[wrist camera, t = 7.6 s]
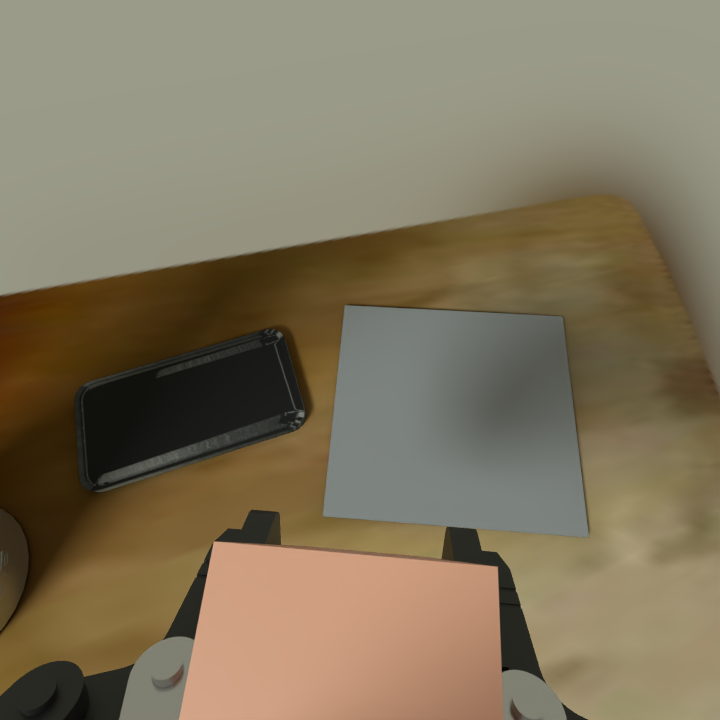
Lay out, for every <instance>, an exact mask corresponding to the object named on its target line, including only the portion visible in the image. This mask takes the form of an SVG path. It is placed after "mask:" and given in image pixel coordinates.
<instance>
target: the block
mask: <svg viewBox="0 0 720 720" xmlns="http://www.w3.org/2000/svg"><path fill="white" fill-rule="evenodd" d="M179 720H504V719H503V693H502V666H501V639H500V613H499V586H498V567H496V566H488V565H481V564H473V563H466V562H459V561H450V560H443V559H437V558H429V557H419V556H408V555H397V554H386V553H375V552H363V551H352V550H341V549H330V548H318V547H307V546H293V545H272V544H254V543H235V542H215V541H214V543H213V549H212V554H211V559H210V564H209V569H208V574H207V579H206V584H205V589H204V594H203V600H202V605H201V610H200V615H199V620H198V625H197V630H196V635H195V640H194V645H193V651H192V656H191V661H190V666H189V671H188V676H187V681H186V686H185V691H184V696H183V702H182V707H181V712H180V717H179Z"/></svg>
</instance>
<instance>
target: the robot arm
mask: <svg viewBox="0 0 720 720" xmlns="http://www.w3.org/2000/svg"><path fill="white" fill-rule="evenodd" d="M215 542H235V543H254V544H272V545H281V535H280V514H279V512H272V511H260V510H251V511H250V512H249V514H248V516H247V518H246V521H245V523H244V525H243V527H242V530H240V529H229V528H228V529H227V530H226V531H225V532H224V533H223V534H222V535H221V536H220V537H219V538H218V539H216V540H215ZM213 543H214V542H213ZM212 549H213V544H212V546H211V548H210V550H209V552H208V554H207V556H206V558H205V560H204V563H203V564H202V566H201V568H200V570H199V572H198V574H197V578H195V580H194V582H193V584H192V586H191V587H190V589H189V591H188V593H187V595H186V597H185V599H184V601H183V603H182V605H181V607H180V609H179V611H178V613H177V615H176V617H175V619H174V621H173V623H172V625H171V627H170V629H169V631H168V633H167V635H166V636H165V638H164V639H163V640H162V641H160V642H158V643H156V644H154V645H153V646H152V647H150V648H149V649H148V650H146V651H145V652H144V653H143V654H142V655H141V656H140V658H139V659H138V660H137V662H136V663H135V664H132V665H130V666H127V667H124V668H121V669H117V670H112V671H108V672H104V673H99V674H95V675H91V676H86V677H83V673H82V671H81V669H80V668H79V667H78V666H77V665H76V664H74V663H72V662H68V661H55V662H50V663H47V664H44V665H41V666H39V667H37V668H35V669H33V670H31V671H30V672H28V673H27V674H25V675H24V676H22V677H21V678H20V679H18V680H17V681H16V682H15V683H14V684H13V685H12V686H11V687H10V688H8V689H7V690H6V691H5V692H4V693H3V694H2V695H1V696H0V720H179V717H180V712H181V707H182V702H183V696H184V691H185V686H186V681H187V676H188V671H189V666H190V661H191V656H192V651H193V645H194V640H195V635H196V630H197V625H198V620H199V615H200V610H201V605H202V600H203V594H204V589H205V584H206V579H207V574H208V569H209V564H210V559H211V554H212ZM442 559H443V560H450V561H459V562H466V563H473V564H481V565H488V566H496V567H498V586H499V613H500V639H501V666H502V693H503V719H504V720H587V719H585V718H583V717H581V716H579V715H577V714H576V713H574V712H573V711H571V710H570V709H569V708H567V707H566V706H565V705H564V704H562V703H561V702H560V700H559V698H558V697H557V695H556V694H555V693H554V691H553V690H552V689H551V688H550V687H549V686H548V685H547V684H546V682H545V680H544V678H543V676H542V674H541V671H540V668H539V664H538V661H537V658H536V654H535V651H534V648H533V644H532V641H531V638H530V634H529V631H528V628H527V624H526V621H525V618H524V614H523V611H522V609H521V607H520V605H521V604H520V601H519V598H518V594H517V592H516V588H515V584H514V581H513V578H512V574H511V571H510V569H509V567H508V566H507V565H506V564H505V562H504V561H503V560H502V558H501V557H500V556H499V554H498V553H497V552H489V551H482V550H481V546H480V542H479V538H478V534H477V531H476V529H469V528H457V527H447V528H446V533H445V539H444V546H443V553H442ZM28 561H29V553H28V547H27V541H26V538H25V535H24V533H23V531H22V528H21V526H20V525H19V524H18V523H17V521H16V520H15V519H14V518H13V516H11V515H10V514H8V513H7V512H5V511H4V510H3V509H1V508H0V631H1V630H2V629H3V627H4V626H5V625H6V623H7V621H8V620H9V618H10V617H11V615H12V614H13V612H14V610H15V609H16V607H17V604H18V602H19V600H20V597H21V595H22V593H23V590H24V586H25V582H26V578H27V574H28Z"/></svg>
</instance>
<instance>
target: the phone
mask: <svg viewBox="0 0 720 720" xmlns="http://www.w3.org/2000/svg"><path fill="white" fill-rule="evenodd" d="M74 403H75V419H76V434H77V450H78V466H79V479H80V483H81V485H82V486H83V487H84V488H85V489H87V490H90V491H95V492H105V491H108V490H112V489H115V488H118V487H121V486H124V485H127V484H130V483H133V482H137V481H140V480H143V479H146V478H149V477H152V476H155V475H159V474H162V473H165V472H168V471H171V470H174V469H177V468H181V467H184V466H187V465H190V464H193V463H196V462H199V461H203V460H206V459H209V458H212V457H215V456H218V455H221V454H224V453H228V452H231V451H234V450H237V449H240V448H243V447H246V446H250V445H253V444H256V443H259V442H262V441H265V440H268V439H272V438H275V437H278V436H281V435H284V434H287V433H290V432H293V431H296V430H298V429H299V428H300V427H301V426H302V425H303V423H304V422H305V419H306V410H305V407H304V403H303V400H302V396H301V393H300V389H299V385H298V382H297V378H296V375H295V371H294V368H293V364H292V361H291V357H290V354H289V350H288V346H287V343H286V341H285V338H284V336H283V334H282V333H281V332H279V331H277V330H275V329H266V330H262V331H259V332H255V333H252V334H249V335H245V336H242V337H238V338H235V339H232V340H228V341H225V342H222V343H218V344H215V345H211V346H208V347H205V348H201V349H198V350H194V351H191V352H188V353H184V354H181V355H178V356H174V357H171V358H167V359H164V360H161V361H157V362H154V363H150V364H147V365H144V366H140V367H137V368H134V369H130V370H127V371H123V372H120V373H117V374H113V375H110V376H106V377H103V378H100V379H96V380H93V381H90V382H87V383H85V384H84V385H83V386H81V387H80V388H79V390H78V391H77V393H76V395H75V400H74Z"/></svg>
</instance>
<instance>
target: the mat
mask: <svg viewBox="0 0 720 720" xmlns="http://www.w3.org/2000/svg"><path fill="white" fill-rule="evenodd" d="M323 516H325V517H338V518H350V519H363V520H375V521H388V522H400V523H413V524H425V525H438V526H450V527H462V528H475V529H487V530H500V531H512V532H525V533H537V534H550V535H562V536H575V537H589V534H588V525H587V517H586V508H585V500H584V491H583V483H582V475H581V466H580V458H579V449H578V441H577V432H576V424H575V416H574V407H573V399H572V390H571V382H570V373H569V365H568V356H567V348H566V340H565V331H564V323H563V317H562V316H542V315H523V314H504V313H484V312H465V311H446V310H426V309H407V308H387V307H368V306H349V305H345V309H344V318H343V328H342V338H341V347H340V357H339V366H338V376H337V385H336V395H335V404H334V414H333V424H332V433H331V443H330V452H329V462H328V471H327V481H326V490H325V500H324V510H323Z"/></svg>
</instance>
